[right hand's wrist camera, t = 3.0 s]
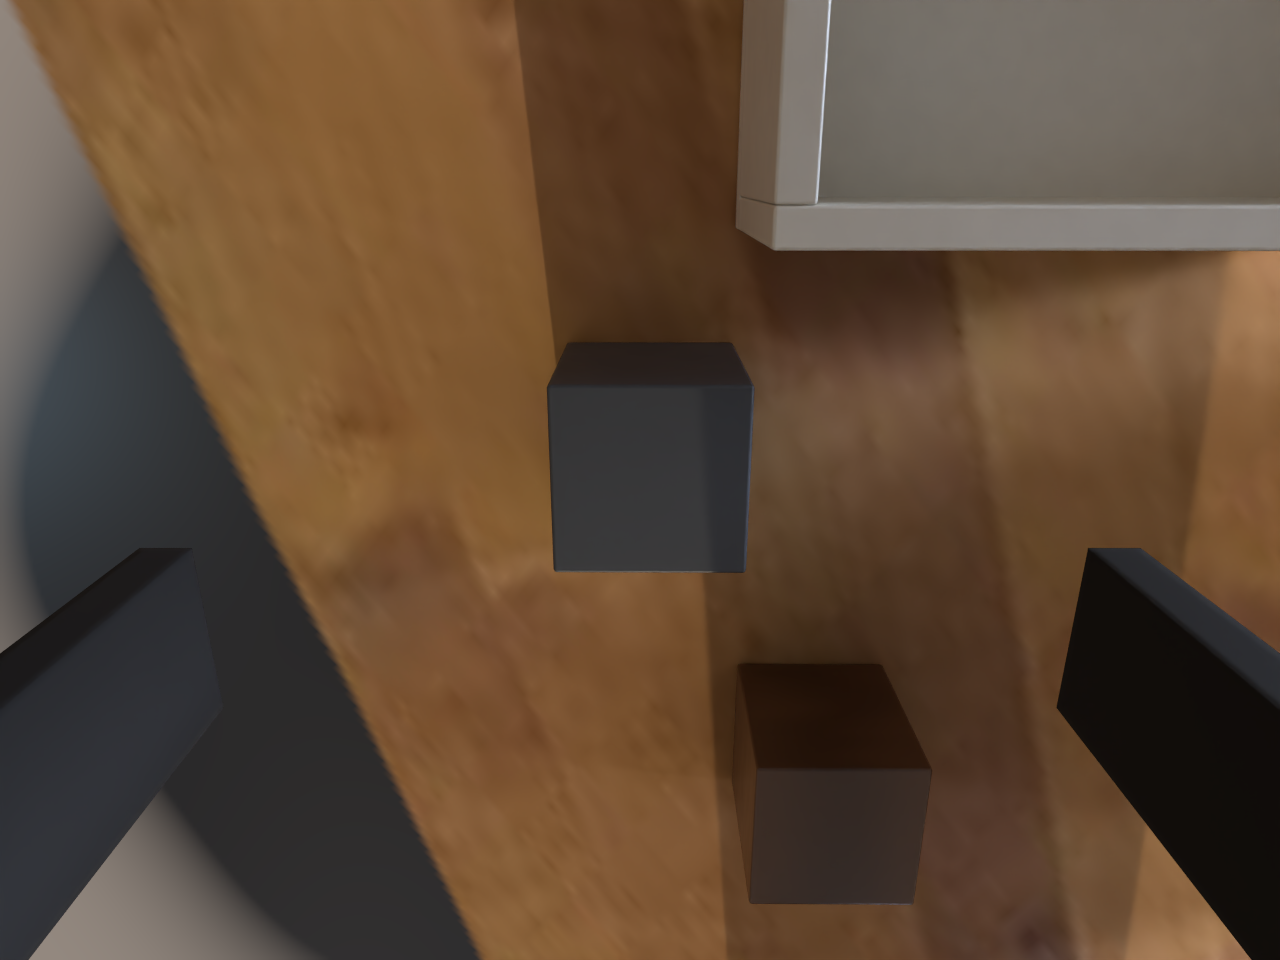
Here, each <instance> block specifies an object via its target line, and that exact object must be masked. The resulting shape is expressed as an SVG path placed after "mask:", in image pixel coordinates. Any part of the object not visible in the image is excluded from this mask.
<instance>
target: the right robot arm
mask: <svg viewBox="0 0 1280 960" xmlns="http://www.w3.org/2000/svg"><path fill="white" fill-rule="evenodd" d="M222 709H223V703H222V698H221V693H220V688H219V683H218V678H217V673H216V668H215V663H214V658H213V653H212V648H211V642H210V638H209V633H208V627H207V622H206V617H205V612H204V607H203V602H202V597H201V592H200V587H199V582H198V577H197V572H196V567H195V562H194V557H193V552H192V548H139V549H138V550H136V551H135V552H134V553H132V554H131V555H130V556H129V557H127V558H126V559H125V560H123V561H122V562H121V563H119V564H118V565H117V566H115V567H114V568H113V569H111V570H110V571H109V572H107V573H106V574H105V575H103V576H102V577H101V578H99V579H98V580H97V581H95V582H94V583H93V584H92V585H90V586H89V587H88V588H86V589H85V590H84V591H82V592H81V593H80V594H78V595H77V596H76V597H74V598H73V599H72V600H70V601H69V602H68V603H66V604H65V605H64V606H62V607H61V608H60V609H58V610H57V611H56V612H54V613H53V614H52V615H51V616H49V617H48V618H47V619H45V620H44V621H43V622H41V623H40V624H39V625H37V626H36V627H35V628H33V629H32V630H31V631H29V632H28V633H27V634H25V635H24V636H23V637H21V638H20V639H19V640H18V641H16V642H15V643H14V644H12V645H11V646H10V647H8V648H7V649H6V650H4V651H3V652H2V653H0V960H29V958H30V957H31V956H32V954H33V953H34V952H35V951H36V949H37V948H38V947H39V945H40V944H41V943H42V942H43V940H44V939H45V938H46V936H47V935H48V934H49V933H50V931H51V930H52V929H53V927H54V926H55V925H56V923H57V922H58V921H59V920H60V918H61V917H62V916H63V914H64V913H65V912H66V910H67V909H68V908H69V907H70V905H71V904H72V903H73V901H74V900H75V899H76V898H77V896H78V895H79V894H80V892H81V891H82V890H83V889H84V887H85V886H86V885H87V883H88V882H89V881H90V880H91V878H92V877H93V876H94V874H95V873H96V872H97V870H98V869H99V868H100V867H101V865H102V864H103V863H104V861H105V860H106V859H107V858H108V856H109V855H110V854H111V852H112V851H113V850H114V849H115V847H116V846H117V845H118V843H119V842H120V841H121V840H122V838H123V837H124V836H125V834H126V833H127V832H128V830H129V829H130V828H131V827H132V825H133V824H134V823H135V821H136V820H137V819H138V818H139V816H140V815H141V814H142V812H143V811H144V810H145V808H146V807H147V806H148V805H149V803H150V802H151V801H152V799H153V798H154V797H155V795H156V794H157V793H158V792H159V790H160V789H161V788H162V786H163V785H164V784H165V783H166V781H167V780H168V779H169V777H170V776H171V775H172V774H173V772H174V771H175V770H176V768H177V767H178V766H179V765H180V763H181V762H182V761H183V759H184V758H185V757H186V756H187V754H188V753H189V752H190V750H191V749H192V748H193V746H194V745H195V744H196V743H197V741H198V740H199V739H200V737H201V736H202V735H203V733H204V732H205V731H206V730H207V728H208V727H209V726H210V724H211V723H212V722H213V721H214V719H215V718H216V717H217V715H218V714H219V713H220V712H221V710H222ZM1057 709H1058V710H1059V712H1060V713H1061V714H1062V715H1063V717H1064V718H1065V719H1066V721H1067V722H1068V723H1069V725H1070V726H1071V727H1072V728H1073V730H1074V731H1075V732H1076V734H1077V735H1078V736H1079V737H1080V739H1081V740H1082V741H1083V743H1084V744H1085V745H1086V746H1087V748H1088V749H1089V750H1090V752H1091V753H1092V754H1093V756H1094V757H1095V758H1096V759H1097V761H1098V762H1099V763H1100V765H1101V766H1102V767H1103V768H1104V770H1105V771H1106V772H1107V774H1108V775H1109V776H1110V777H1111V779H1112V780H1113V781H1114V783H1115V784H1116V785H1117V787H1118V788H1119V789H1120V790H1121V792H1122V793H1123V794H1124V796H1125V797H1126V798H1127V799H1128V801H1129V802H1130V803H1131V805H1132V806H1133V807H1134V808H1135V810H1136V811H1137V812H1138V814H1139V815H1140V816H1141V818H1142V819H1143V820H1144V821H1145V823H1146V824H1147V825H1148V827H1149V828H1150V829H1151V830H1152V832H1153V833H1154V834H1155V836H1156V837H1157V838H1158V840H1159V841H1160V842H1161V843H1162V845H1163V846H1164V847H1165V849H1166V850H1167V851H1168V852H1169V854H1170V855H1171V856H1172V858H1173V859H1174V860H1175V861H1176V863H1177V864H1178V865H1179V867H1180V868H1181V869H1182V871H1183V872H1184V873H1185V874H1186V876H1187V877H1188V878H1189V880H1190V881H1191V882H1192V883H1193V885H1194V886H1195V887H1196V889H1197V890H1198V891H1199V892H1200V894H1201V895H1202V896H1203V898H1204V899H1205V900H1206V902H1207V903H1208V904H1209V905H1210V907H1211V908H1212V909H1213V911H1214V912H1215V913H1216V914H1217V916H1218V917H1219V918H1220V920H1221V921H1222V922H1223V924H1224V925H1225V926H1226V927H1227V929H1228V930H1229V931H1230V933H1231V934H1232V935H1233V936H1234V938H1235V939H1236V940H1237V942H1238V943H1239V944H1240V945H1241V947H1242V948H1243V949H1244V951H1245V952H1246V953H1247V955H1248V956H1249V957H1250V958H1251V960H1280V653H1278V652H1277V651H1276V650H1274V649H1273V648H1272V647H1270V646H1269V645H1268V644H1266V643H1265V642H1264V641H1263V640H1261V639H1260V638H1259V637H1257V636H1256V635H1255V634H1253V633H1252V632H1251V631H1249V630H1248V629H1247V628H1245V627H1244V626H1243V625H1241V624H1240V623H1239V622H1237V621H1236V620H1235V619H1233V618H1232V617H1231V616H1229V615H1228V614H1227V613H1225V612H1224V611H1223V610H1222V609H1220V608H1219V607H1218V606H1216V605H1215V604H1214V603H1212V602H1211V601H1210V600H1208V599H1207V598H1206V597H1204V596H1203V595H1202V594H1200V593H1199V592H1198V591H1196V590H1195V589H1194V588H1192V587H1191V586H1190V585H1188V584H1187V583H1186V582H1185V581H1183V580H1182V579H1181V578H1179V577H1178V576H1177V575H1175V574H1174V573H1173V572H1171V571H1170V570H1169V569H1167V568H1166V567H1165V566H1163V565H1162V564H1161V563H1159V562H1158V561H1157V560H1155V559H1154V558H1153V557H1151V556H1150V555H1149V554H1148V553H1146V552H1145V551H1144V550H1142V549H1141V548H1088V552H1087V557H1086V562H1085V567H1084V572H1083V577H1082V582H1081V587H1080V592H1079V597H1078V602H1077V607H1076V612H1075V617H1074V622H1073V627H1072V632H1071V637H1070V642H1069V648H1068V653H1067V658H1066V663H1065V668H1064V673H1063V678H1062V683H1061V688H1060V693H1059V698H1058V703H1057Z"/></svg>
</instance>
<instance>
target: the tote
mask: <svg viewBox="0 0 1280 960" xmlns="http://www.w3.org/2000/svg"><path fill="white" fill-rule="evenodd" d="M736 228H737V229H738V230H740V231H742V232H744V233H746V234H747V235H749V236H751V237H752V238H754V239H756V240H757V241H759V242H761V243H763V244H764V245H766V246H768V247H769V248H771V249H773V250H775V251H1280V0H744V8H743V36H742V63H741V90H740V118H739V145H738V172H737V200H736Z"/></svg>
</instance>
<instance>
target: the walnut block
mask: <svg viewBox="0 0 1280 960" xmlns="http://www.w3.org/2000/svg"><path fill="white" fill-rule="evenodd" d="M931 775H932V769H931V767H930V765H929V762H928V760H927V758H926V756H925V754H924V752H923V750H922V748H921V746H920V744H919V742H918V739H917V737H916V735H915V733H914V731H913V729H912V727H911V725H910V723H909V721H908V719H907V717H906V714H905V712H904V710H903V708H902V706H901V704H900V702H899V700H898V698H897V696H896V694H895V692H894V689H893V687H892V685H891V683H890V681H889V679H888V677H887V675H886V673H885V671H884V669H883V666H882V665H819V664H739V665H738V667H737V685H736V707H735V729H734V752H733V774H732V784H733V791H734V798H735V805H736V812H737V820H738V827H739V834H740V841H741V848H742V855H743V862H744V869H745V876H746V883H747V891H748V898H749V902H750V903H751V904H875V905H912V904H913V903H914V896H915V888H916V881H917V874H918V867H919V860H920V853H921V846H922V839H923V832H924V825H925V817H926V810H927V803H928V796H929V789H930V782H931Z"/></svg>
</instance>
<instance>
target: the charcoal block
mask: <svg viewBox="0 0 1280 960" xmlns="http://www.w3.org/2000/svg"><path fill="white" fill-rule="evenodd" d="M547 405H548V431H549V458H550V484H551V510H552V537H553V563H554V570H555V572H688V573H743V572H745V570H746V559H747V537H748V516H749V494H750V473H751V452H752V430H753V409H754V386H753V384H752V382H751V380H750V378H749V376H748V374H747V372H746V370H745V368H744V366H743V364H742V362H741V360H740V358H739V356H738V354H737V352H736V350H735V348H734V346H733V344H732V343H567V345H566V348H565V350H564V352H563V354H562V356H561V358H560V360H559V363H558V365H557V367H556V369H555V371H554V373H553V375H552V377H551V380H550V382H549V384H548V386H547Z"/></svg>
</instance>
